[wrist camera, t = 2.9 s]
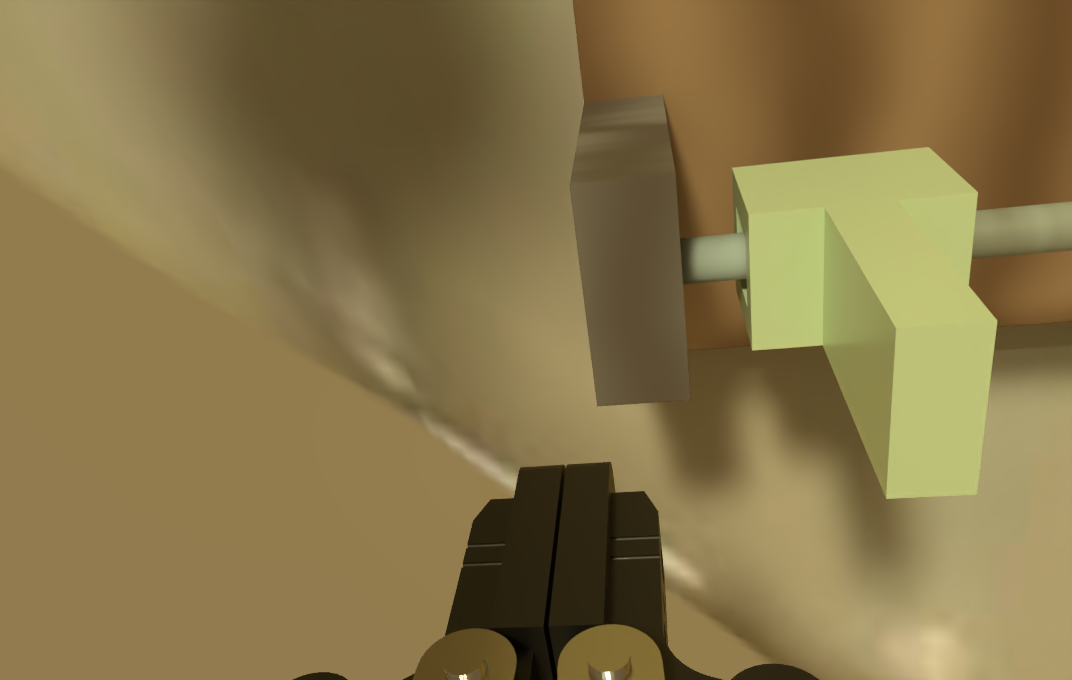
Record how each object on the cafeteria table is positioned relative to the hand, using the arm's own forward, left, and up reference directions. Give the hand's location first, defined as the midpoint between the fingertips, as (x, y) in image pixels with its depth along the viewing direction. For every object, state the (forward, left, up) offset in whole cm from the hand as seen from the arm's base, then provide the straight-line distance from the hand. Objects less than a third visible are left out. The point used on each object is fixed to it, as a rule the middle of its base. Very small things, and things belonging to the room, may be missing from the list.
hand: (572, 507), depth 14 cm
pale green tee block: (+6, 0, -12) cm, 13 cm away
